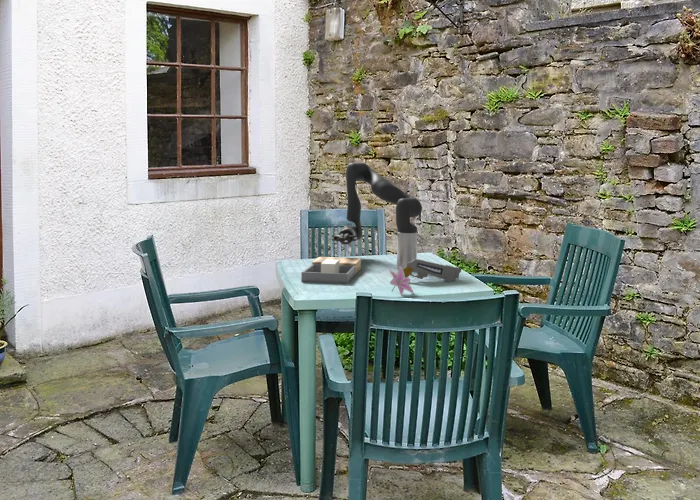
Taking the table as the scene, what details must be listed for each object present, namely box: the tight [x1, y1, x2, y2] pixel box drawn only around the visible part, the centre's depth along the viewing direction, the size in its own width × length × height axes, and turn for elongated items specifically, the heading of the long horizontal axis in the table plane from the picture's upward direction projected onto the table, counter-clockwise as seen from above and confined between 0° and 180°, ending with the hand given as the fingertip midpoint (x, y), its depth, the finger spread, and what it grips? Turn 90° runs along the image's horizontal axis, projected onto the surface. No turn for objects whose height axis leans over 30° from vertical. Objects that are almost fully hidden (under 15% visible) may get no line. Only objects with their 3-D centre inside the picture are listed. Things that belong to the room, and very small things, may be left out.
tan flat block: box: [311, 256, 362, 275], centre depth 346 cm, size 20×16×5 cm
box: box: [300, 263, 357, 284], centre depth 327 cm, size 20×22×4 cm
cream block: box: [321, 259, 339, 273], centre depth 330 cm, size 6×6×12 cm
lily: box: [388, 266, 414, 296], centre depth 297 cm, size 12×12×10 cm
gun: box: [403, 258, 462, 282], centre depth 323 cm, size 3×25×15 cm, turn 100°
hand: (341, 239), depth 354 cm, fingers closed
